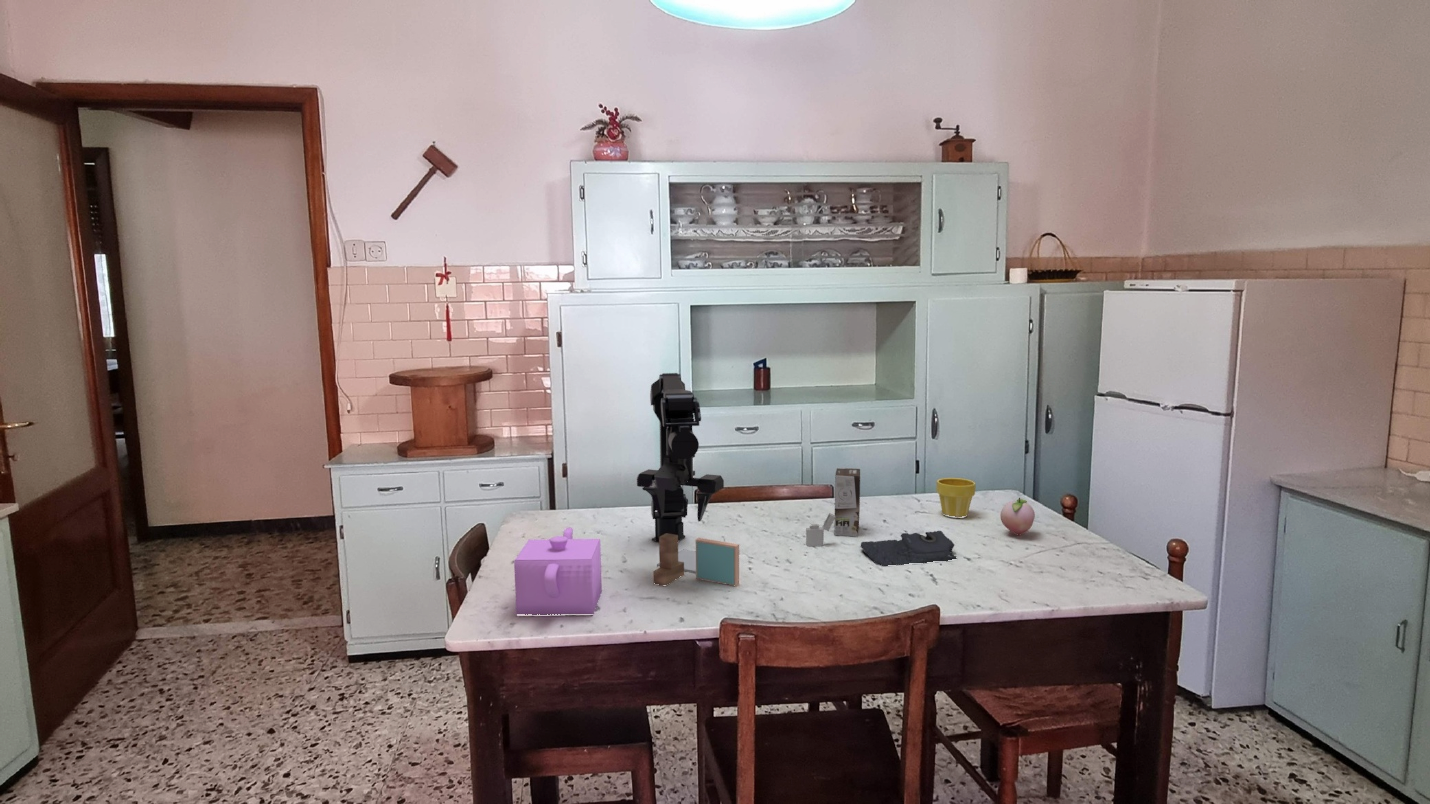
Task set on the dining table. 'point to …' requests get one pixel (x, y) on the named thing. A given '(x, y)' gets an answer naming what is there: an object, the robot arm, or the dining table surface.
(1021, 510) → the decorative fruit
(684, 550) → the mat
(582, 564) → the teapot
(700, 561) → the tile
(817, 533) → the lighter
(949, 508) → the plant pot
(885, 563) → the dark grey folded shirt
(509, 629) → the dining table surface
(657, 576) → the brown stepped wooden block
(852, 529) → the coffee box
